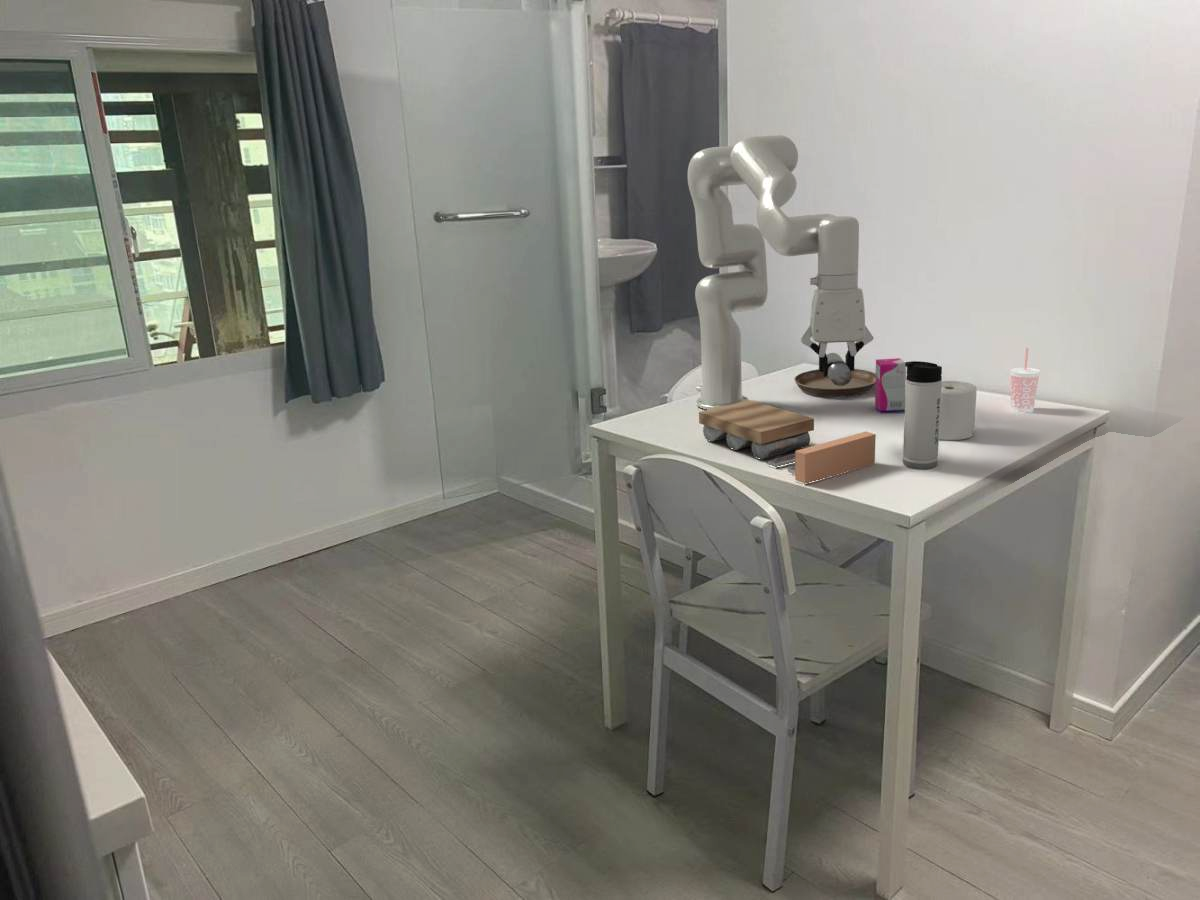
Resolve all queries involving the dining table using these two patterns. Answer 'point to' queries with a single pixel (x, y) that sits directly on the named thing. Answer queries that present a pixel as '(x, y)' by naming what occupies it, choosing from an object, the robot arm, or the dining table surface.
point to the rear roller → (713, 433)
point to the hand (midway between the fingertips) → (836, 374)
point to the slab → (756, 421)
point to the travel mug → (922, 414)
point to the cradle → (784, 462)
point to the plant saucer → (825, 387)
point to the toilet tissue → (957, 410)
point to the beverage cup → (1024, 387)
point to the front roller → (780, 445)
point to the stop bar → (835, 457)
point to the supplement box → (890, 385)
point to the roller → (838, 370)
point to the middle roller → (737, 442)
